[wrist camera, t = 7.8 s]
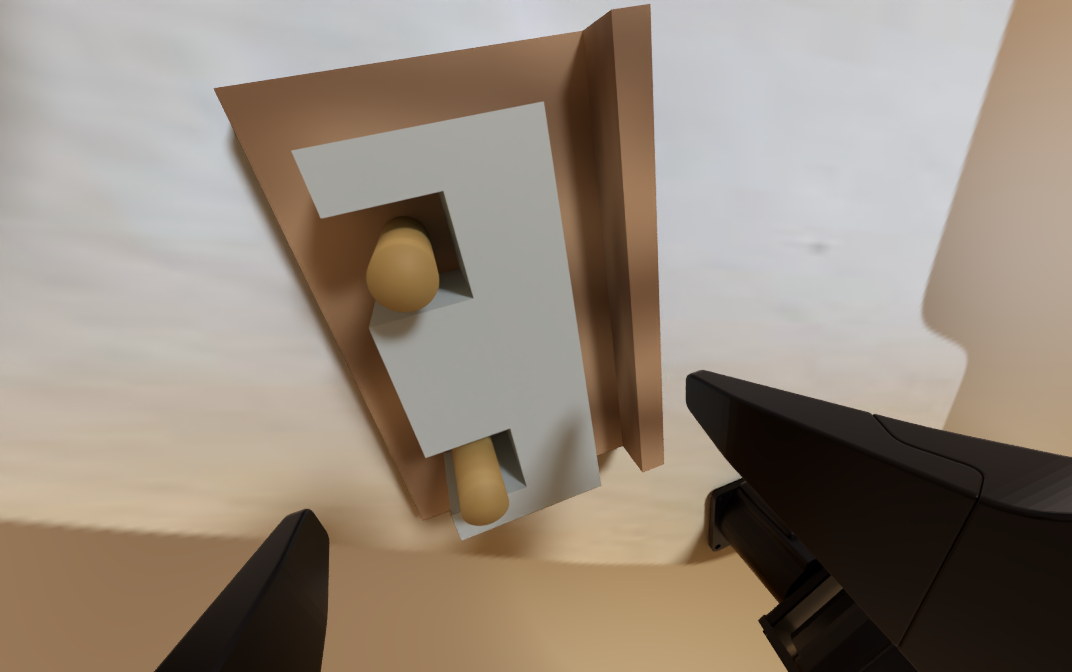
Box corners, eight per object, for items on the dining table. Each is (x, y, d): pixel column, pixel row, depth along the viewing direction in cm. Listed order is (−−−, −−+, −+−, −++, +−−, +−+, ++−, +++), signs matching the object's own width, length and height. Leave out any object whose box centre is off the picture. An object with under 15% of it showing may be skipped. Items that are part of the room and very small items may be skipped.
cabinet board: (629, 421, 22) (704, 512, 16) (422, 496, 20) (426, 631, 14) (596, 38, 14) (727, -47, 8) (235, 96, 12) (68, 36, 6)
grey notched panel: (570, 433, 19) (601, 485, 16) (453, 476, 18) (461, 540, 15) (511, 115, 13) (544, 101, 10) (322, 152, 12) (291, 150, 8)
